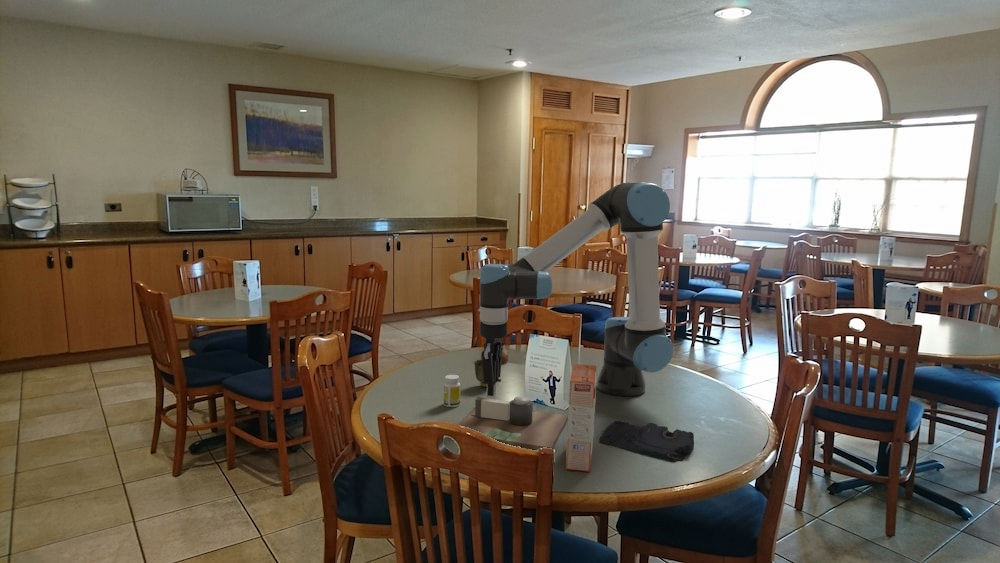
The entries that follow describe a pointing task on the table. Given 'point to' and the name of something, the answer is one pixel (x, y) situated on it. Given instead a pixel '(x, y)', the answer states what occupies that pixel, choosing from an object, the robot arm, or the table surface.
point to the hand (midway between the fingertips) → (491, 405)
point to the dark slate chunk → (649, 440)
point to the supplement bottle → (451, 391)
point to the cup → (480, 372)
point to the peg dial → (505, 410)
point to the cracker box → (581, 417)
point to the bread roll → (504, 356)
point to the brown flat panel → (520, 429)
